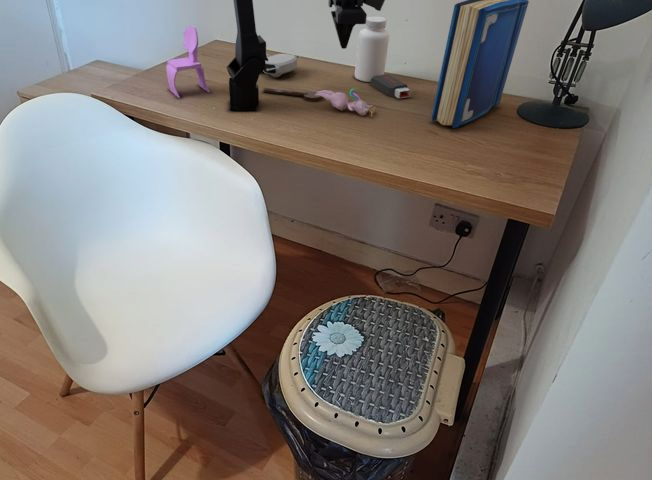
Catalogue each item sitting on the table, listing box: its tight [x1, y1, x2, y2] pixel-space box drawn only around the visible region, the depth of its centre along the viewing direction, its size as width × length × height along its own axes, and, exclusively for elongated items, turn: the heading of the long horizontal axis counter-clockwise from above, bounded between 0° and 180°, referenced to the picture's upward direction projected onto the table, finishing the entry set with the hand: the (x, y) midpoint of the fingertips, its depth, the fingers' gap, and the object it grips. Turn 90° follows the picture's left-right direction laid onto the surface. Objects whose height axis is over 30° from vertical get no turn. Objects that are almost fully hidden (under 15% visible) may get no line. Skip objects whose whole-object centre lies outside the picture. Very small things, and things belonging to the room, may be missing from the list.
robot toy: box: [262, 53, 303, 78], centre depth 146 cm, size 12×4×15 cm
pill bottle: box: [354, 15, 390, 83], centre depth 139 cm, size 8×8×15 cm
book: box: [430, 0, 529, 129], centre depth 117 cm, size 22×7×25 cm, turn 134°
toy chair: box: [165, 25, 210, 99], centre depth 129 cm, size 8×9×15 cm
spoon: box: [262, 87, 322, 102], centre depth 133 cm, size 15×4×1 cm, turn 73°
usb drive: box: [370, 73, 411, 100], centre depth 136 cm, size 5×12×3 cm, turn 24°
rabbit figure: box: [314, 87, 377, 117], centre depth 124 cm, size 6×6×15 cm
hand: (343, 47), depth 125 cm, fingers closed
